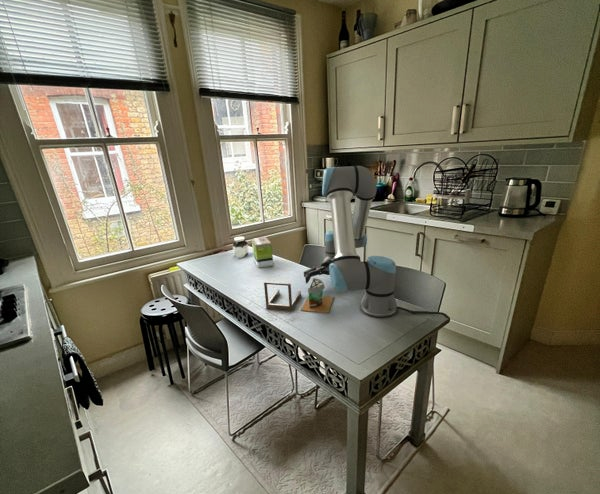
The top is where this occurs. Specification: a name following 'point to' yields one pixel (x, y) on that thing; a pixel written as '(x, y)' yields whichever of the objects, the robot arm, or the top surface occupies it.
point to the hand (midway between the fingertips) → (320, 281)
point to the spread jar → (240, 247)
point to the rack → (278, 306)
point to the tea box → (262, 252)
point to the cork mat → (322, 308)
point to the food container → (316, 293)
